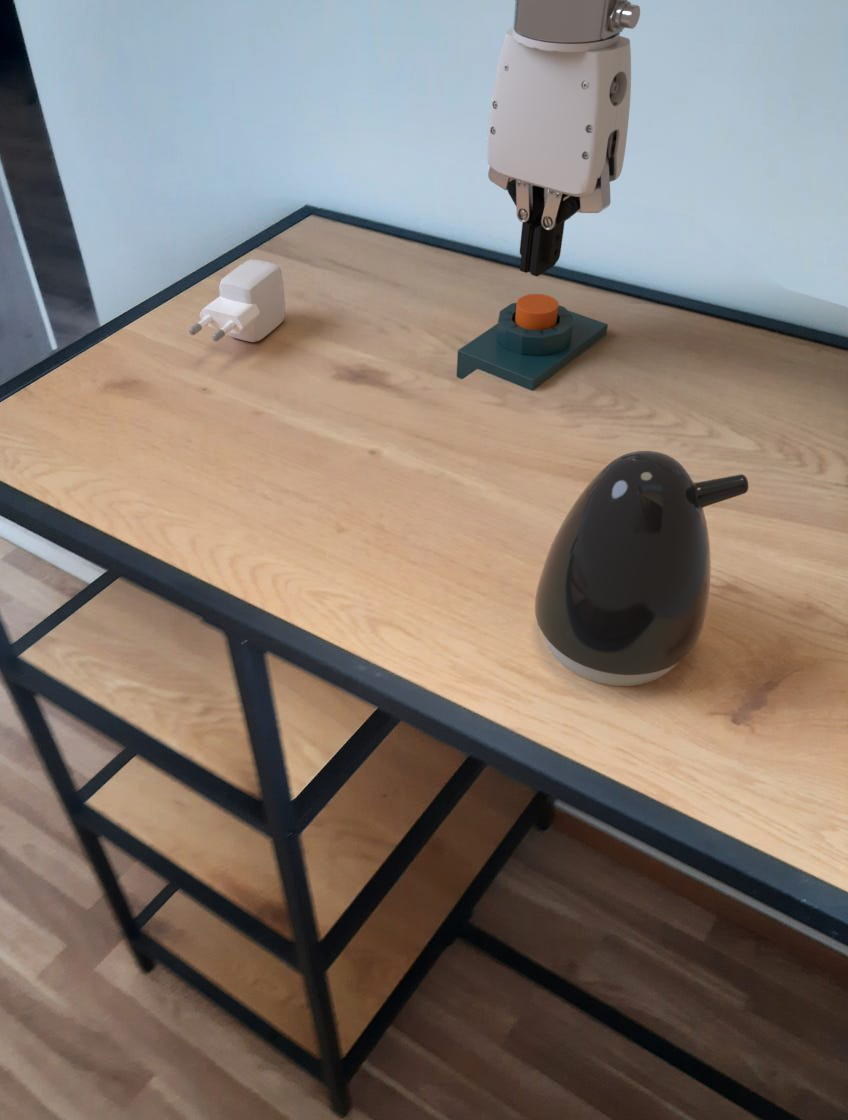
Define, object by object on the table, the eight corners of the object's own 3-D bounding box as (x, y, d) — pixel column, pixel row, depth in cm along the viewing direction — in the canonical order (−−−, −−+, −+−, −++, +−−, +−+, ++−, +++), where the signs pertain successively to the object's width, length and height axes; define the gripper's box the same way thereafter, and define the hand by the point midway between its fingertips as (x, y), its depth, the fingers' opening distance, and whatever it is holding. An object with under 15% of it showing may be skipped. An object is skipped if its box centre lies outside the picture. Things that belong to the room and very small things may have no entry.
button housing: (531, 324, 90) (536, 279, 87) (603, 351, 87) (611, 305, 83) (456, 377, 84) (458, 331, 81) (530, 408, 81) (535, 361, 77)
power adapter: (229, 375, 86) (220, 315, 81) (186, 363, 87) (175, 304, 83) (293, 320, 92) (288, 262, 88) (252, 310, 94) (245, 253, 90)
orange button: (530, 308, 84) (532, 289, 83) (564, 320, 83) (566, 301, 81) (506, 324, 82) (508, 305, 81) (541, 336, 81) (543, 317, 80)
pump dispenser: (701, 719, 57) (772, 527, 46) (529, 707, 58) (558, 516, 47) (682, 602, 64) (740, 410, 53) (528, 593, 65) (553, 403, 54)
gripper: (691, 19, 64) (639, 278, 77) (510, -14, 71) (491, 229, 84) (635, 45, 60) (591, 312, 74) (450, 8, 67) (440, 259, 80)
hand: (538, 267), depth 79 cm, fingers closed
